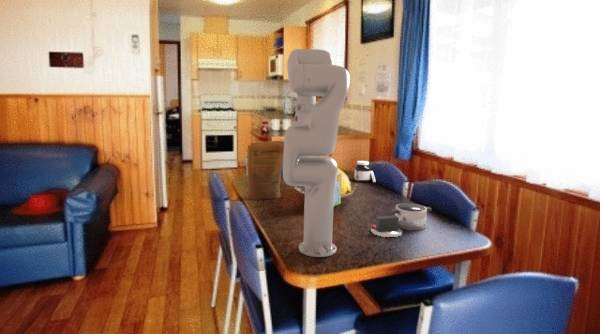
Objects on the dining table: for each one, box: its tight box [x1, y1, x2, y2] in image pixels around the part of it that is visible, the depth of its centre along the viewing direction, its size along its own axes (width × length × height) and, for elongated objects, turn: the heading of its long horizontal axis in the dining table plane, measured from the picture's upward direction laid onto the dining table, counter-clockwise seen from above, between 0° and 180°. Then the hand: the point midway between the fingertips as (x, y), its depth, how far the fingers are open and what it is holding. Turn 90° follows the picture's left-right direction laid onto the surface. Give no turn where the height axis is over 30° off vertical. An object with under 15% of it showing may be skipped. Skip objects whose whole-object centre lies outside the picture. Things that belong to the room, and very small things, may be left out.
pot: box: [389, 202, 433, 231], centre depth 162 cm, size 12×17×8 cm
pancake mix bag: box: [246, 140, 284, 201], centre depth 194 cm, size 7×19×28 cm, turn 112°
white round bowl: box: [370, 214, 403, 239], centre depth 153 cm, size 12×12×6 cm
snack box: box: [304, 172, 342, 207], centre depth 182 cm, size 21×6×15 cm, turn 141°
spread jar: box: [354, 160, 377, 183], centre depth 237 cm, size 12×11×12 cm
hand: (305, 150), depth 168 cm, fingers open, 9 cm apart
